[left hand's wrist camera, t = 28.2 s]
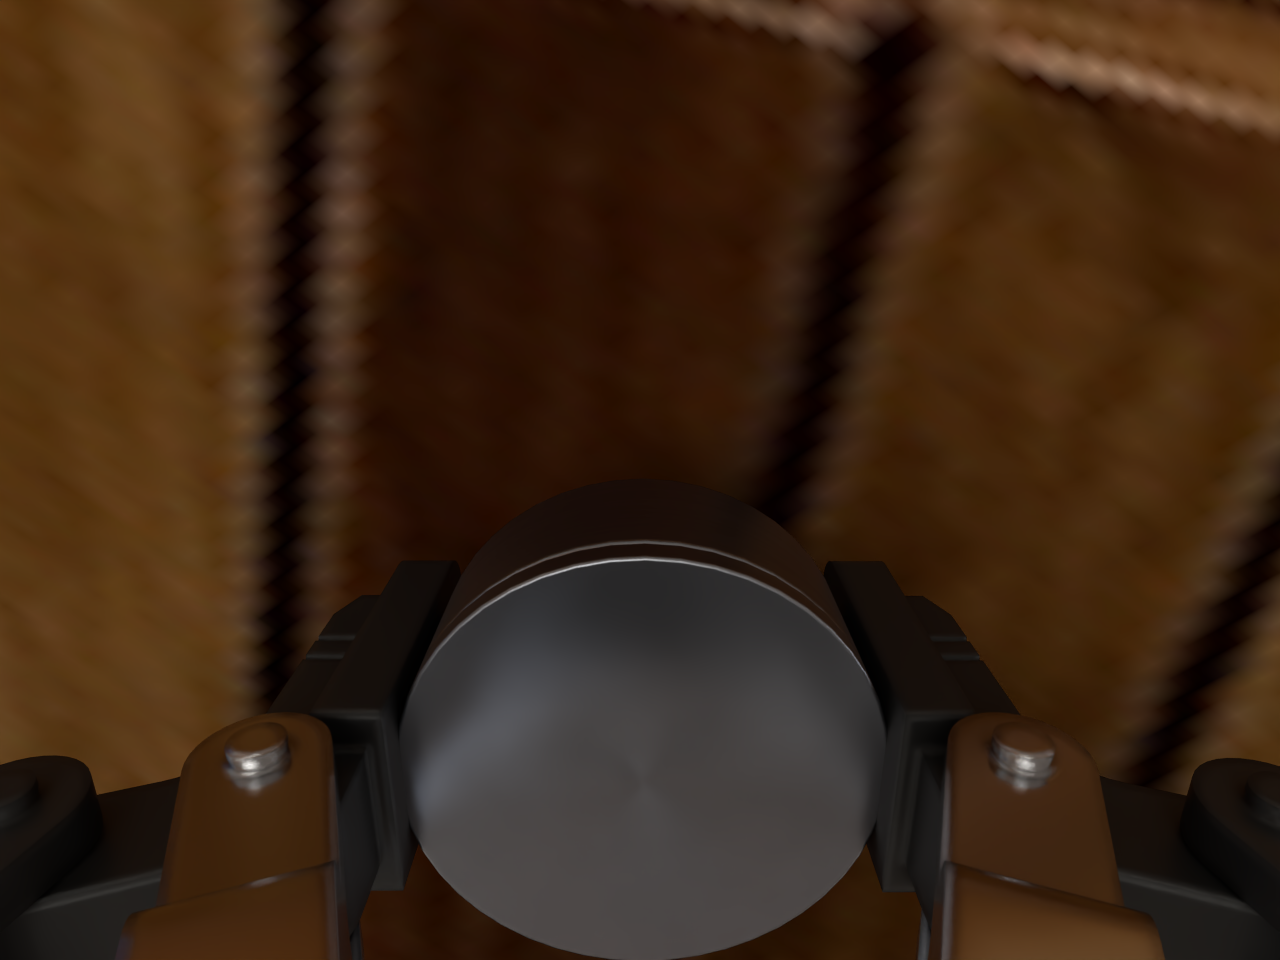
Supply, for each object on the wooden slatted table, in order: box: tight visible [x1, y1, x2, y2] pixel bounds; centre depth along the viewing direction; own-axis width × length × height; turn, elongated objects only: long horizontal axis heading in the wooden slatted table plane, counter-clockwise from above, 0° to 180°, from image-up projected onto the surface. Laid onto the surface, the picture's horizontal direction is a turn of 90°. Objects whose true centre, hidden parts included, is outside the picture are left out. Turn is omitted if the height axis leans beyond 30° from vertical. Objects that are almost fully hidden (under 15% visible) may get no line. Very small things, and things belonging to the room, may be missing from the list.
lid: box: [399, 479, 887, 960], centre depth 10 cm, size 5×5×2 cm
